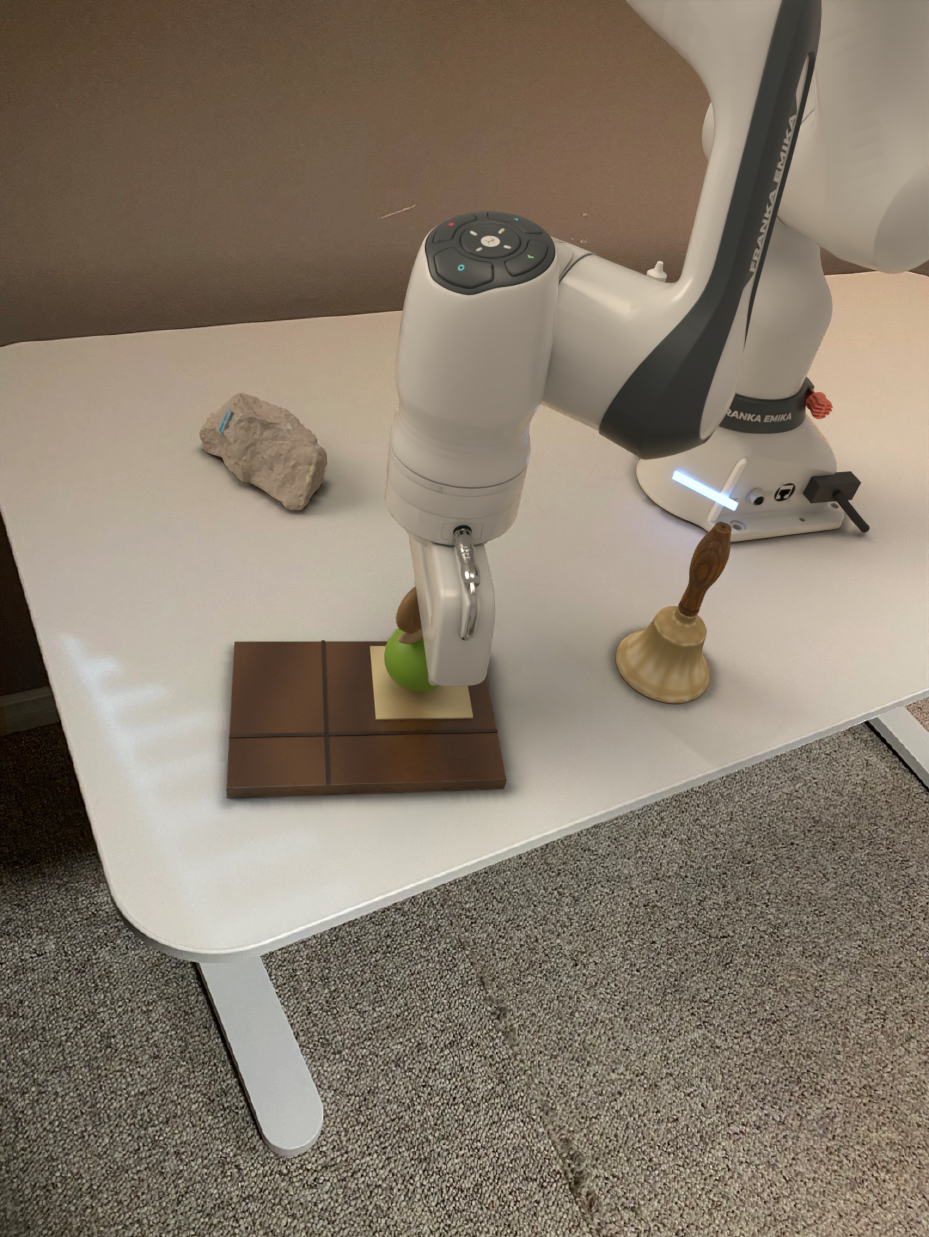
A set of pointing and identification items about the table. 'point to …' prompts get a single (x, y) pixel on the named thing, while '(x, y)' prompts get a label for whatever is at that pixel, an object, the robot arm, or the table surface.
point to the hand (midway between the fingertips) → (432, 630)
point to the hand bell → (677, 633)
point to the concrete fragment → (266, 449)
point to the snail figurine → (408, 648)
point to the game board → (351, 725)
